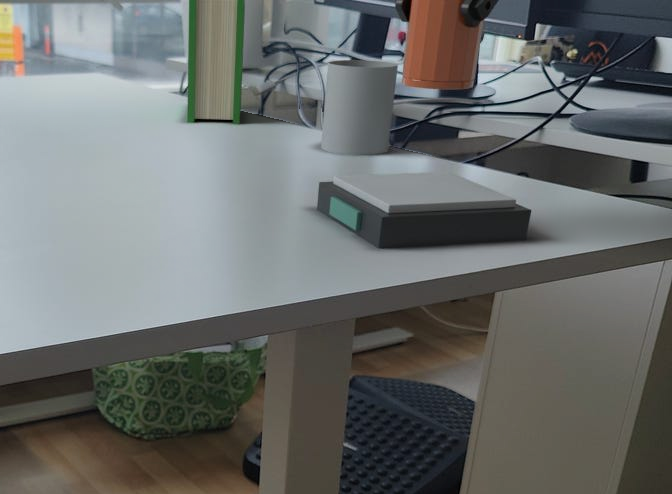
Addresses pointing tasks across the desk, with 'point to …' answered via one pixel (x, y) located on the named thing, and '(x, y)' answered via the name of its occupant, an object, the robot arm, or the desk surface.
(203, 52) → the hardback book
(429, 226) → the scale
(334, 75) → the cup
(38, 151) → the desk surface
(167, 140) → the desk surface
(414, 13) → the tumbler
